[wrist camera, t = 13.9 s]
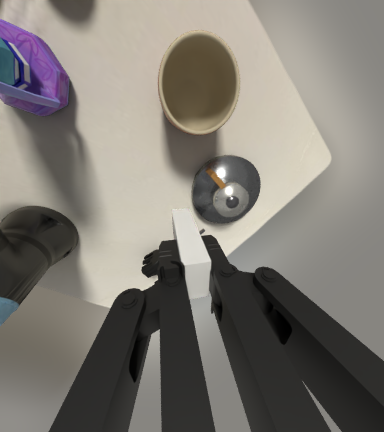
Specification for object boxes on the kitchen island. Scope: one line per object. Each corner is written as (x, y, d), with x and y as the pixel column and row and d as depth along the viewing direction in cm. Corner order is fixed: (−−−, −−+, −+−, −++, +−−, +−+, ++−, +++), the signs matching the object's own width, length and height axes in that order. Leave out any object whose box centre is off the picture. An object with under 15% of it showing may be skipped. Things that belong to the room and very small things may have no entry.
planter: (227, 116, 36) (250, 111, 27) (177, 144, 37) (183, 149, 28) (204, 45, 30) (223, 6, 21) (146, 81, 31) (139, 60, 22)
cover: (231, 211, 45) (238, 221, 40) (205, 202, 42) (209, 212, 38) (246, 185, 42) (256, 192, 37) (218, 174, 39) (225, 180, 35)
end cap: (179, 263, 54) (181, 280, 48) (161, 273, 55) (161, 291, 49) (161, 244, 49) (161, 260, 43) (142, 255, 50) (139, 272, 44)
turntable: (218, 230, 50) (226, 244, 44) (177, 190, 42) (179, 201, 36) (267, 190, 46) (284, 199, 40) (232, 138, 38) (246, 139, 32)
